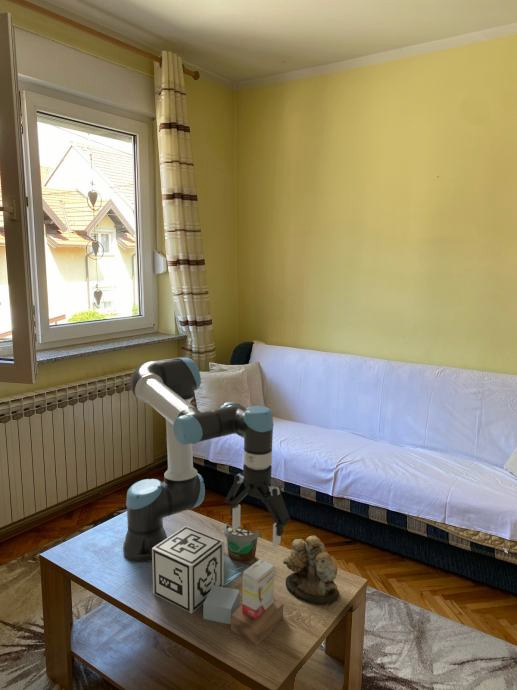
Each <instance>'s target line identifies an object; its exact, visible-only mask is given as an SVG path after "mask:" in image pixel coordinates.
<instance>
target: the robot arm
mask: <svg viewBox="0 0 517 690" xmlns="http://www.w3.org/2000/svg"><path fill="white" fill-rule="evenodd" d="M201 383H202V377H201V373H200V370H199V367H198V365H197V363H196V362H195V361H194V360H193V359H192V358H189V357H173V358H172V357H171V358H166V359H160V360H151V361H150V360H149V361H147V362H144V363H141V365H139V366H138V367H137V368H136V369H135V370H134V371H133V374H132V375H131V378H130V384H129V386H130V389H131V390H130V391H131V392H132V394H133V396H134V397H135V398H136V399H137V400H138V401H140V402H142V403H145V404H148V405H149V406H150V407H151V408H153V409H154V410H155V411H156V412H157V413H159V414H160V415H161V416H162V417H163V418H165V426H166V429H165V430H166V449H167V470H166V471H165V472H164V474H163V475H164V476H163V478H164V479H163V480H164V481H161V480H159V479H156V478H151V479H150V478H146V479H141V480H139V481H136V482H134V483H133V484H132V485H131V486H129V488H128V490H127V493H126V501H125V504H126V505H125V506H126V516H127V519H126V520H127V530H126V533H125V539H124V541H123V545H122V547H123V548H122V552H123V553H122V554H123V555H124V557H125V558H126V559H128V560H129V561H132V562H139V563H145V562H146V563H147V562H152V548H153V547H154V546H156V545H157V544H159V543H160V542H162V541H163V540H165V539H166V538H168V536H167V533H166V530H165V527H164V523H163V522H164V518H166V517H169V516H173V515H176V514H180V513H183V512H185V511H191V510H193V509H194V508H197V507H199V506H200V505H201V504H202V503H203V501H204V498H205V495H206V493H205V492H206V489H205V488H206V487H205V483H204V478H203V477H202V475H201V474H200V473H198V470H197V469H196V468H195V467H194V462H193V461H194V459H193V457H194V456H193V445H195V444H197V443H200V442H201V443H202V442H204V441H209V440H212V439H217V438H222V437H226V436H231V435H238V436H239V437H241V438H243V471H242V472H240V473H238V474H236V475H234V477H233V478H234V479H233V483H232V484H231V487H230V489H229V490H228V493H227V495H226V496H225V498H224V502H225V504H229V506H230V517H232V521H231V523H232V525H231V527H232V530H235V529H237V528H241V504H239V503H241V501H243V499H244V498H246V496H247V495H249V496H250V497H252V498H256V499H257V500H260V502H261V503H263V504H264V506H265V507H266V508H267V511H268V513H269V514H270V516H271V518H272V520H273V521H274V523H273V524H272V548H276V547H278V546H279V545H280V544H281V540H282V539H281V537H282V535H283V534H284V527H285V526H286V525H288V524H289V523H290V522H291V517H290V515H289V514H290V513H289V511H288V509H287V507H286V503H285V501H284V498H283V495H282V487H281V486H280V485H277V486H272V484H271V479H272V469H273V468H272V464H273V463H272V462H273V439H274V438H273V436H274V435H273V434H274V417H273V416H274V415H273V410H272V409H271V408H270V407H267V406H263V405H252V406H248V407H246V406H243V405H241V404H240V403H237V402H233V401H227V402H225V403H224V404H223V403H222V405H220V407H219V408H217V409H210V410H206V411H201V410H199V409H198V408H196V407H195V406H193V405H192V404H191V402H192V400H193V399H194V398H195V391H197V390H199V389H200V387H201ZM242 484H243V485H244V487H245V488H244V489H243V490H242V491H241V492H240V493H239V494H238V495H237V492H238V491H239V489H240V487H241V485H242ZM236 495H237V496H236ZM266 496H267V497H266Z"/></svg>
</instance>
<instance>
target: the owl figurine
mask: <svg viewBox="0 0 517 690" xmlns="http://www.w3.org/2000/svg"><path fill="white" fill-rule="evenodd" d="M282 563H283V564H284V565H286V568H287V569H289V570H290V571H291V572H292V573H290V574H289V575H288V576H287V577H285V587H286V590H287V591H288V592H289V593H291V595H293V596H294V597H296V598H297V599H299V600H301V601H303V602H306V603H307V604H312V605H318V606H326V604H327V605H329V604H330V605H331V603H332V604H334V603H336V602H337V601H338V599H339V597H340V594H339V589H338V585H337V584H336V583H335V579H336V578H337V575H338V563H336V561H335V560H334V559H333V558H332V556H331V554H329V553H328V552H327V551H326V547H325V544H324V543H323V542H322V541H321V539H320V538H319V537H317V535H310V536H308V537H306V539H305V540H304V539H302V538H299V539H298V538H295V539H294V540H292V544H291V551H290V554H289V555H288V558H284V559H283V561H282ZM336 600H337V601H336Z"/></svg>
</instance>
